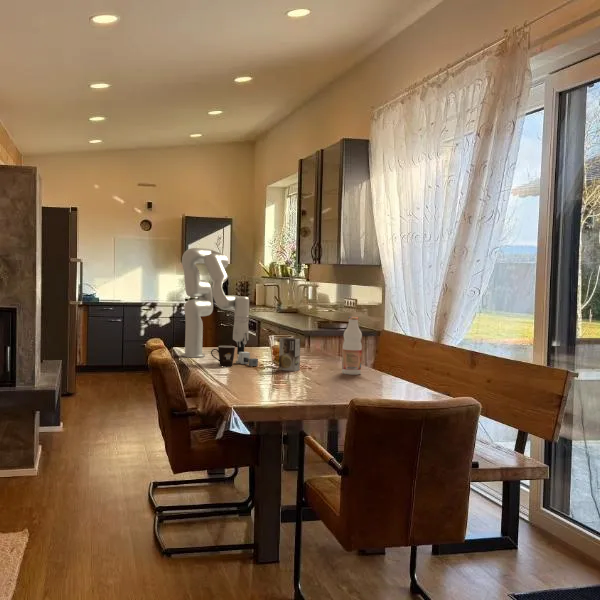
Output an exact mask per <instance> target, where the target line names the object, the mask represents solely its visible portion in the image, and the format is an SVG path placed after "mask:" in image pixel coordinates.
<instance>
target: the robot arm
mask: <svg viewBox="0 0 600 600" xmlns="http://www.w3.org/2000/svg"><path fill="white" fill-rule="evenodd" d="M181 259H182V260H181V265H182V269H183V279H184V289H185V293H186V294H185V295H187V296H188V297H190V298H198V299H190V300H188V301H186V303H184V309H183V310H184V318H185V332H184V333H185V336H184V337H185V339H184V340H185V341H184V352H183V353H181V356H182V357H185V358H204V357H206V354H205V353H203V338H204V337H203V335H204V334H203V333H204V331H203V330H204V326H203V325H204V324H203V323H204V322H203V319H202V318H201V317H207V316H208V317H209V316H210V315H211V314H213V311H214V302H215V304H216V306H217V307H218V308H219V309H220V310H224V311H225V310H226V311H227V310H234V320H233V321H234V323H233V331H232V340H233V341H235V342H236V347H237V348H236V349H237V352H236V355H239V352H245V347H246V346H245V345H247V342H248V341H249V323H250V319H249V318H250V298H249V297H248V296H241V295H234V294H233V295H229V294H228V295H226V294H225V292H224V289H223V283H225V282H226V281H227V280H228V278H229V276H228V274H227V272H226V268H227V267H228V265H229V259H228V257H227V255H225V254H224V253H222V252H219V251H215V250H213V249H212V248H211V249H210V248H203V247H202V248H201V247H199V248H197V247H191V248H188V249H187V250H185V251H184V252H183V254H182V258H181ZM198 264H199V265H200V264H201V265H205V267H206V269H207V272H208V274H209V276H210V278H211V280H212V282H213V283H212V286H211V284H210V283H209V281H208V280H205V279H201V277H200V275H201V274H200V270H199V268H198V266H197V265H198Z"/></svg>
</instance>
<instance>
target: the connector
mask: <svg viewBox="0 0 600 600" xmlns="http://www.w3.org/2000/svg"><path fill="white" fill-rule="evenodd" d="M253 361H256V362H253ZM253 363H254V364H253ZM255 363H256V364H255ZM249 366H259V359H258V358H254V357H253V358H251V357H250V359H249V364H248V367H249Z"/></svg>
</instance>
